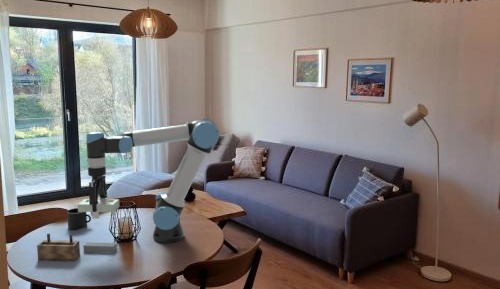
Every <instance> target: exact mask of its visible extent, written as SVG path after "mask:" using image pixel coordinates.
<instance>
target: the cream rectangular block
mask: <svg viewBox="0 0 500 289" xmlns="http://www.w3.org/2000/svg"><path fill="white" fill-rule="evenodd" d="M97 204H98V206H99V213H114V212H116V211H117V210H118V209H119V208H120V199H119V198H118V199H115V198H114V199H112V198H111V199H109V198H105V199H99V198H98V202H97ZM77 208H78V212H86V213H92V205H89V198H88V199H87V198H85V199H82V201H80V202H79V203H77Z"/></svg>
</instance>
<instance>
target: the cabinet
mask: <svg viewBox="0 0 500 289" xmlns="http://www.w3.org/2000/svg"><path fill="white" fill-rule="evenodd" d="M46 238H47V239H43V240H42V241H40V243H39V242H38V244H37V245H36V248H37V250H36V251H37V261H40V262H41V261H42V262H43V261H46V262H76V260H77V259H78V258H79V257H80V256H81V250H80V249H81V248H80V247H81V245H80V240H74V239H73V234H72V233H69V240H64V239H63V240H59V239H58V240H57V239H55V240H54V239H51V233H46Z"/></svg>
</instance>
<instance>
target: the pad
mask: <svg viewBox="0 0 500 289" xmlns="http://www.w3.org/2000/svg"><path fill="white" fill-rule="evenodd" d="M117 244H118V243H117V242H89V241H87V242H85V243H84V245H83V246H82V247H83V253H110V254H113V253H115V252H116V251H117V250H118V248H117Z"/></svg>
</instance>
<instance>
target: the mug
mask: <svg viewBox="0 0 500 289" xmlns="http://www.w3.org/2000/svg"><path fill="white" fill-rule="evenodd" d="M66 213H67V228H68V230H72V231H73V230H74V231H76V230H82V229H84V228H87V226H88V223H90V222H91V221H92V217H91V216H90V214H87V213H88V212H78V207H74V208H70V209H68V210H67V212H66ZM87 217H88V219H87Z"/></svg>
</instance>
